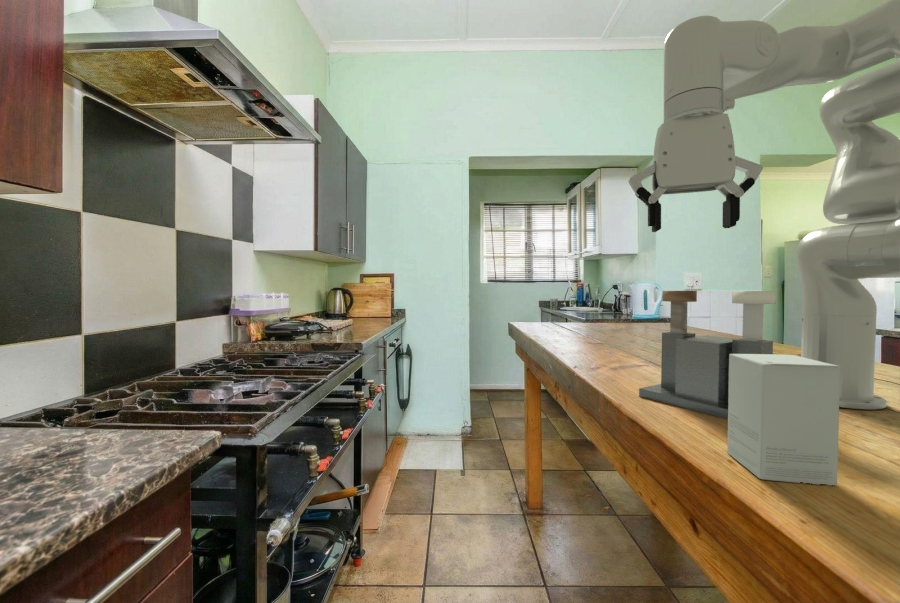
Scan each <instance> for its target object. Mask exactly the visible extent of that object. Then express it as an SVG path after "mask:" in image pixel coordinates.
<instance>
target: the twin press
mask: <svg viewBox="0 0 900 603" xmlns="http://www.w3.org/2000/svg"><path fill="white" fill-rule="evenodd" d="M773 350H774V341H773V340H765V339H763V341H762V342H754V341H744V340H742V338H736V337H730V336H729V337H726V336H718V335H714V336H713V335H700V336H696V333H694V332H687V334H674V333H670V331H665V332H664V331H663V332H661V361H660V362H661V367H660V368H661V370H660V371H661V372H660V373H661V374H660V377H661V378H660V380H661V381H660V383H659V384H654V385H649V386H645V387H639V388H638V397H641V398H645V399H649V400H653V401H656V402H661V403H664V404H668V405H671V406H674V407H675V406H676V407H680V408H683V409H687V410H689V411H690V410H691V411H694V412H698V413H703V414H706V415H710V416H714V417H718V418H721V419H725V420H728V393H729V354H773V353H774V351H773Z"/></svg>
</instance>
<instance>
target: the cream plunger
mask: <svg viewBox="0 0 900 603" xmlns="http://www.w3.org/2000/svg"><path fill="white" fill-rule="evenodd" d="M731 294H732V295H731V296H732V298H731V299H732V300H731V303H732V304H739V305H740V304H742V309H743V310H742V335H741V336H742V337H741V339H742V340H744V341H754V342H762V341H763V340H764V335H763V334H764V305H777V291H776V290H732V293H731Z"/></svg>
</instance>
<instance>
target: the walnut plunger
mask: <svg viewBox="0 0 900 603" xmlns="http://www.w3.org/2000/svg"><path fill="white" fill-rule="evenodd" d="M661 291H662V293H661V294H662V297H661V298H662V302H670V321H669V324H670V327H669V330H670V331H669V332H670V333H674V334H687V333H688V303H697V300H698V299H697V298H698V295H697V294H698V291H697V290H661Z"/></svg>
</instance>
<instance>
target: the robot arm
mask: <svg viewBox="0 0 900 603" xmlns="http://www.w3.org/2000/svg"><path fill="white" fill-rule="evenodd" d="M895 58H896V59H898V60H896V61H893V62H891V63H889V64H886V65H884V66H881V67H878V68H876V69H873V70H870V71H867V72H865V73H863V74H860V75H858V76H855V77H852V78H850V79H848V80H846V81H844V82H842V83H840V84H838V85H836V86H835V87H833V88H832V89H830V90H829V91H828V92H827V93H826V94H825V95H824V96H823V97H822V99H821V101H820V104H819V117H820V120H821V122H822V124H823V126H824V128H825V130H826V132H827V134H828V136H829V137H830V140H831V141H832V143H833V145H834V148H835V151H836V152H835V153H836V158H835V162H834V165H833V169H832V173H831V176H830V178H829V183H828V185H827V189H826V192H825V196H824V199H823V203H822V204H823V205H822V213H823V216H824V218H825V219H826V220H828V222H831V223H833V224H838V225H833V226H827V227H822V228H820V229H816V230H813V231H811V232H809V233H808V234H806V235H805V236H804V237H803V238H802V239H800V241H799V243H798V245H797V249H796V258H797V263H798V268H799V273H800V277H801V286H802V321H801V322H802V323H801V352H800V353H801V354H800V357H804V358H808V359H812V360H816V361H820V362H824V363H829V364H833V365H838V366H840V388H839V408H844V409H854V410H855V409H856V410H882V409H885V408H886V407H887V405H888V404H887V402H888V401H887V400H886V399H885V398H883V397H881V396H879V395H876V394H874V392H875V390H874V389H875V363H876V360H875V359H876V340H877V338H876V336H877V335H876V334H877V332H876V331H877V314H878V313H877V312H878V310H877V309H878V308H877V303H876V301H875V299H874V297H873V295H872V294H871V293H870V291H869V290H868V289H867V288H866V287H865V286H864V285H863V284H862V283H861V281H860V280H862V279H878V278H880V279H883V278H884V279H885V278H886V279H889V278H891V279H892V278H893V279H894V278H900V138H899V137H897V136H896V135H895V134H894V133H892V132H891V131H889V130H887V129H885V128H883V127H881V126H878V125H877V124H875V123H874V122H873V121H876V120H879V119H882V118H886V117H890V116H892V115H897V114H898V113H900V0H887V1H885V2H884V3H882V4H880V5H877V6H876V7H874V8H871V9H870V10H868V11H866V12H863V13H862V14H859V15H858V16H855V17H854V18H852V19H850V20H847V21H846V22H844V23H841V24H838V25H822V26H821V25H819V26H818V25H816V26H815V25H812V26H811V25H807V26H806V25H804V26H801V25H800V26H796V27H792V28H790V29H787V30H785V31H782V32H778V31H777V30H776V28H775V27H774V26H772V25H771V24H769V23H768V22H765V21H760V20H752V19H751V20H749V19H748V20H734V21H722V20H721V19H720V18H718V17H716V16H713V15H698V16H696V17H692V18H689V19H687V20H685V21H682V22H681V23H679V24H677V25H676V26H675V27H674V28H673V29H671V30H670V31H669V33H668V34H667V36H666V38H665V41H664V45H663V123H661V124H660V125H659V127H658V128H657V131H656V136H655V142H654V146H653V147H654V148H653V158H652V159H653V160H652V164H651V165H649V166H648V167H645V168H644V169H643V170H640V171H639V172H637V173H635V174H634V175H632V176H631V177H630V178H629V179H628V184H629V186H630V187H631V189H632V191H633V192H634V195H635V197H636V198H638V199H639V200H640V201H642V203H644V204H645V206H646V207H647V226H648V227H651V232H652V233H657V232H658V231H660V230H661V229H662V204H661V202H660V201H659V200H660V198H661V197H662V196H663V195H664V196H665V195H679V194H690V193H691V194H692V193H702V192H705V193H706V192H712V191H713V192H714V191H718V192H720V194H721V195H722V196H723V197H724V198H725V200H724V201H723V202H722V228H724V229H731V228H734V227H736V226H737V222H738V221H740V218H741V197H743V196H744V195H745V193H746V192H748V191H749V190H750V189H752V188H753V186H754V185H755V183H756V181H757V179H758V178H759V176H760V174H761V173H762V172H763V169H764V167H763V165H762V164H761V163H760V164H759V163H756V162H754V161H751V160H748V159H745V158H743V157H739V156H736V150H735V141H734V134H733V129H732V124H731V120H730V117H729V114H728V113H725V112H728V110H733V109H734V108H735V106H736V105H735V104H736V100H738V99H742V98H745V97H750V96H754V95H758V94H759V95H760V94H763V93H767V92H770V91H774V90H778V89H781V88H785V87H795V86H803V85H804V86H805V85H808V86H809V85H818V84H820V85H821V84H827V83H832V82H836V81H838V80H842V79H845V78H847V77H849V76H852V75H854V74H856V73H859V72H862V71H864V70H867V69H870V68H872V67H874V66H877V65H879V64H882V63H884V62H886V61H889V60H891V59H895ZM736 170H737V171H740V172H743V173H744V174H745V176H744V179H743V180H742V182H741V183H739V184H738V183H736V181H734V180H735V177H736ZM650 177H651V187H652V191H653V192H652V193H651V192H650V191H648V190H647V189H646V188H645V187H644V186H643V183H642V182H643V181H644V180H646V179H648V178H650Z"/></svg>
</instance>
